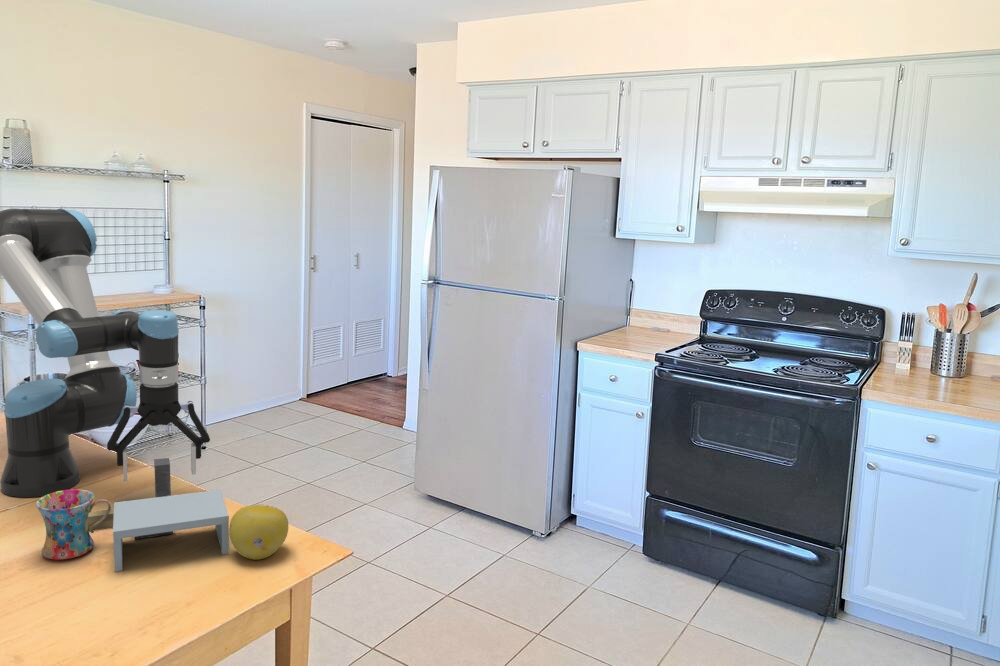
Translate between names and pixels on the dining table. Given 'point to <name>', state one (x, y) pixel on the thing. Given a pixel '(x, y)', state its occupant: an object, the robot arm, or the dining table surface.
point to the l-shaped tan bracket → (97, 515)
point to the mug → (68, 522)
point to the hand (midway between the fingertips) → (160, 475)
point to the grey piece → (161, 486)
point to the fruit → (258, 530)
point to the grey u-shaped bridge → (169, 518)
